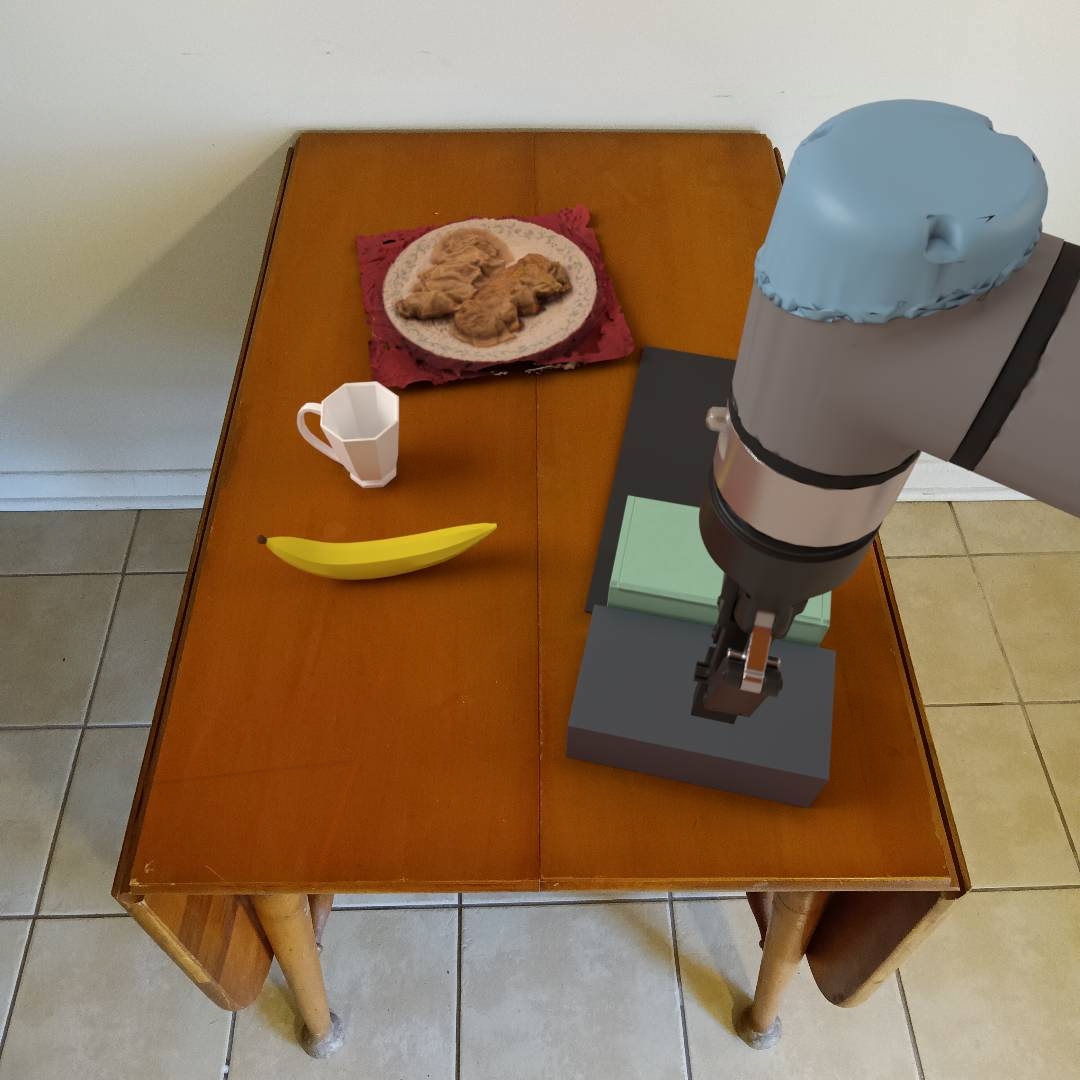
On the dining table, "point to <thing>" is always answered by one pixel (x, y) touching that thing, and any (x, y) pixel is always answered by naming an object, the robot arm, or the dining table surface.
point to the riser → (689, 741)
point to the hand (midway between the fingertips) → (713, 708)
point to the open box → (683, 571)
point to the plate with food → (488, 298)
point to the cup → (358, 431)
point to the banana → (377, 552)
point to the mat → (663, 443)
